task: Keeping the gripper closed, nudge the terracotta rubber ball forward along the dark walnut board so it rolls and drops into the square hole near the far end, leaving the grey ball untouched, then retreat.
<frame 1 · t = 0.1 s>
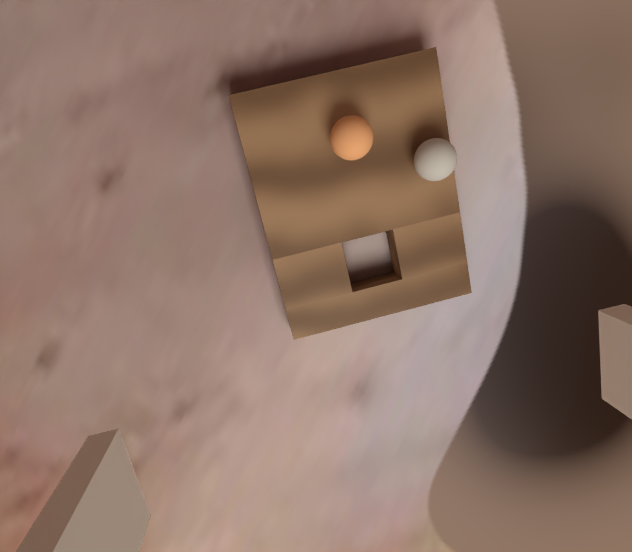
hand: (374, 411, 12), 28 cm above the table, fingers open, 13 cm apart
board: (354, 199, 39), on the table
grey ball: (435, 159, 34), point 4 cm above the table, touching board
ball: (351, 138, 33), point 4 cm above the table, touching board
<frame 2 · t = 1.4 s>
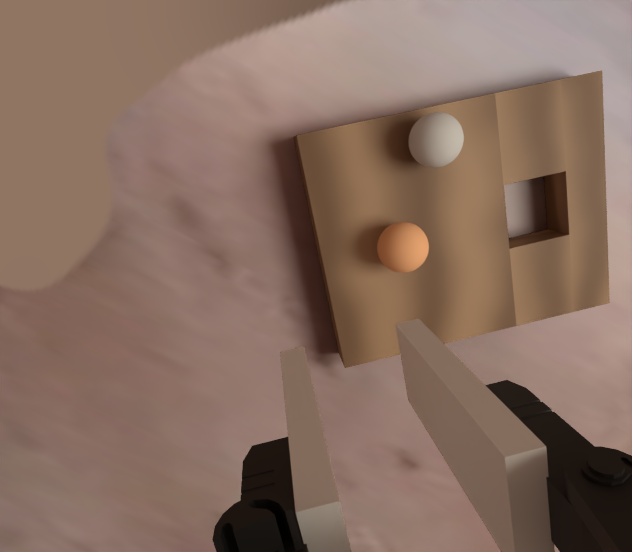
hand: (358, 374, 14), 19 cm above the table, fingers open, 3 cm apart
board: (451, 221, 33), on the table
grey ball: (435, 140, 27), point 4 cm above the table, touching board
ball: (402, 247, 28), point 4 cm above the table, touching board
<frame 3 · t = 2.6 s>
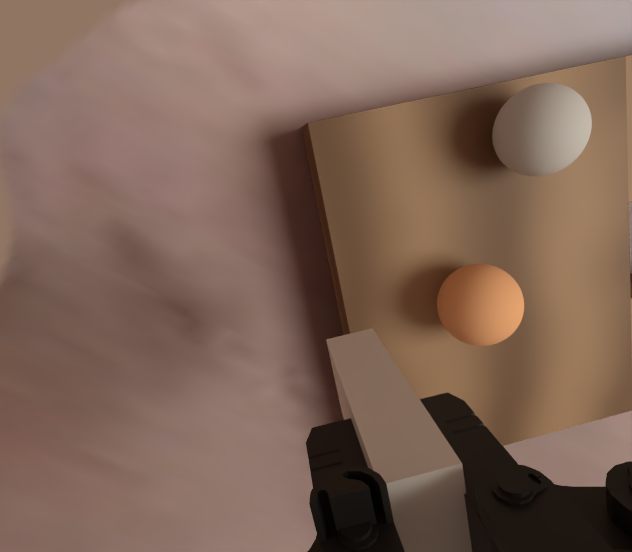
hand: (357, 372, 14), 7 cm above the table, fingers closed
board: (535, 255, 22), on the table
grey ball: (539, 131, 16), point 4 cm above the table, touching board
ball: (479, 304, 18), point 4 cm above the table, touching board
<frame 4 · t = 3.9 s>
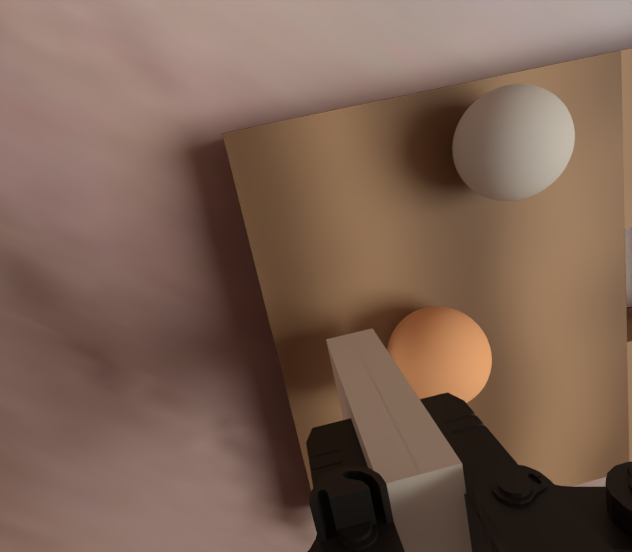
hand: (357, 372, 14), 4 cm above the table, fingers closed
board: (515, 286, 19), on the table
grey ball: (510, 144, 13), point 4 cm above the table, touching board
ball: (437, 356, 14), point 4 cm above the table, touching board
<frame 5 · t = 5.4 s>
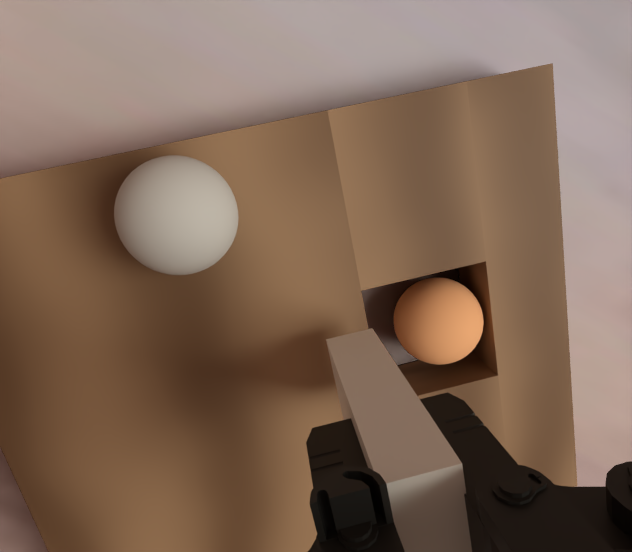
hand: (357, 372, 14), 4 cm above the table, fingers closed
board: (289, 341, 18), on the table
grey ball: (178, 216, 12), point 4 cm above the table, touching board
ball: (437, 320, 17), point 2 cm above the table, tilted 58°
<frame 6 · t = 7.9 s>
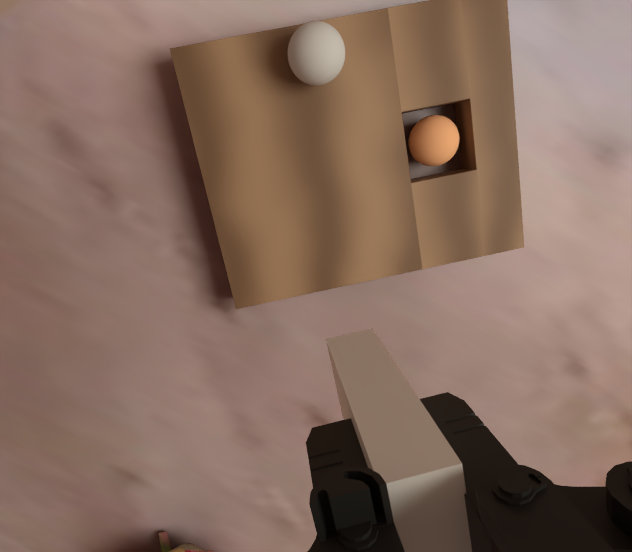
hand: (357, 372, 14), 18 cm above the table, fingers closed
board: (355, 157, 31), on the table
grey ball: (316, 54, 25), point 4 cm above the table, touching board
ball: (433, 141, 29), point 2 cm above the table, tilted 35°
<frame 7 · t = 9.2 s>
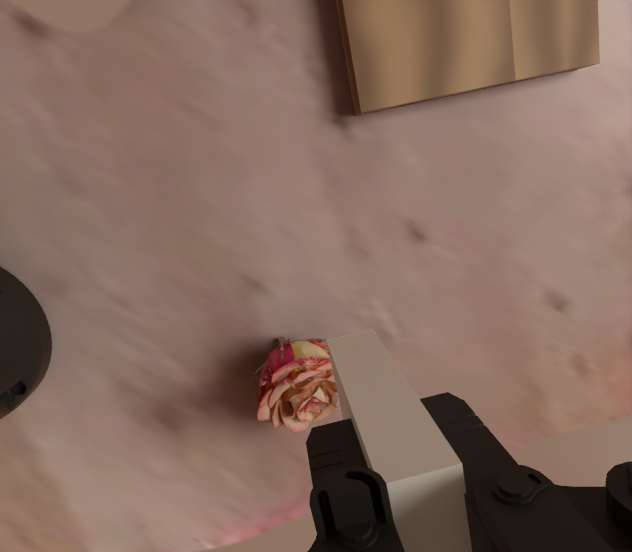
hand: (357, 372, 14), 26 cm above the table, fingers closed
flower: (302, 363, 43), on the table
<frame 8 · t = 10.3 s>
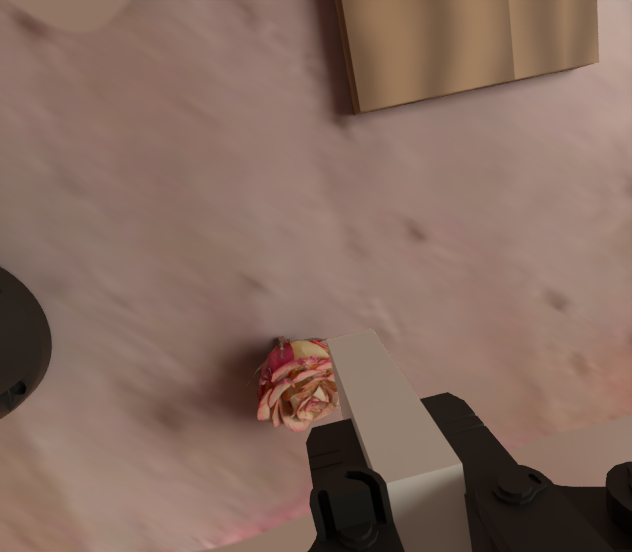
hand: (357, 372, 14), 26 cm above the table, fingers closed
flower: (302, 362, 43), on the table
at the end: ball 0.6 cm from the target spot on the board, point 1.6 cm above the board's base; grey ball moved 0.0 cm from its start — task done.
